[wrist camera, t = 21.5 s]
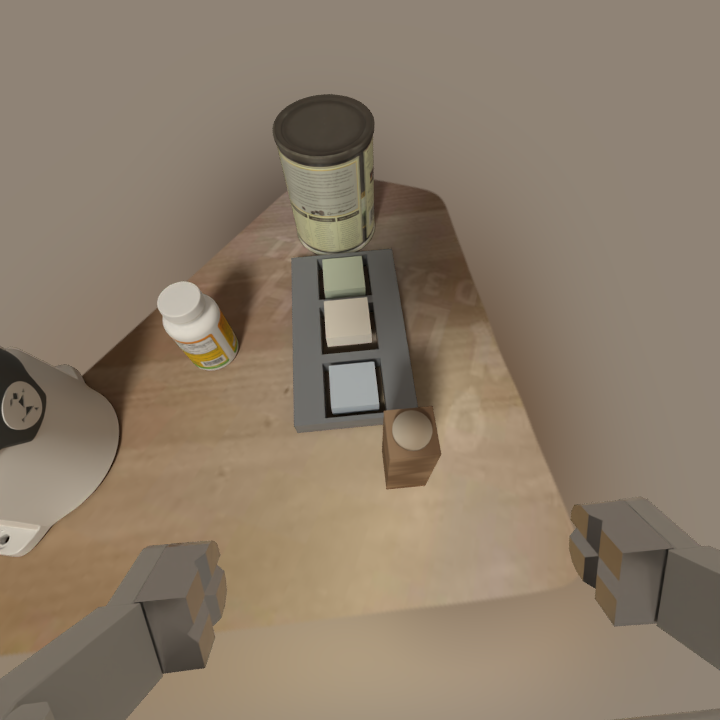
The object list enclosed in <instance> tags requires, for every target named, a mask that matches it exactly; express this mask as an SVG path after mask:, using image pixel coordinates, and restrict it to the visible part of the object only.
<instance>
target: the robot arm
mask: <svg viewBox="0 0 720 720" xmlns="http://www.w3.org/2000/svg"><path fill="white" fill-rule="evenodd" d="M118 440H119V424H118V419H117V416H116V413H115V411H114V409H113V407H112V405H111V404H110V402H109V401H108V400H107V399H106V398H105V397H104V396H103V395H101V394H100V393H98V392H96V391H95V390H93V389H91V388H90V387H88V386H87V385H86V384H85V382H84V380H83V378H82V376H81V374H80V373H79V372H78V370H77V369H75V368H73V367H71V366H69V365H59V366H55V367H54V366H52V365H50V364H48V363H46V362H44V361H42V360H40V359H38V358H37V357H35V356H33V355H31V354H29V353H27V352H25V351H23V350H21V349H18V348H15V347H8V348H7V349H4V348H3V347H1V346H0V555H5V556H13V557H19V556H23V555H25V554H27V553H28V552H29V551H31V550H32V549H33V548H34V547H35V546H36V544H37V543H38V542H39V541H40V540H41V539H42V537H43V536H44V535H45V534H46V532H47V531H48V530H49V528H50V527H51V526H52V525H53V524H55V523H56V522H57V521H58V520H60V519H61V518H63V517H64V516H65V515H67V514H68V513H70V512H71V511H73V510H74V509H75V508H77V507H78V506H79V505H80V504H81V503H83V502H84V501H85V500H86V499H87V498H88V497H89V496H90V495H91V494H92V493H93V492H94V490H95V489H96V488H97V487H98V486H99V484H100V483H101V482H102V480H103V479H104V477H105V475H106V474H107V472H108V470H109V468H110V466H111V464H112V462H113V459H114V457H115V454H116V450H117V446H118ZM571 521H572V522H573V524H574V525H575V526H576V529H575V530H574V531H573V533H572V534H571V535H570V536H569V551H570V555H571V559H572V563H573V565H574V567H575V569H576V571H577V573H578V574H579V576H580V577H581V579H582V580H583V581H584V582H585V583H587V584H588V585H590V586H592V587H593V588H595V589H596V591H595V600H596V601H597V602H598V604H599V605H600V607H601V608H602V610H603V611H604V612H605V614H606V615H607V617H608V618H609V620H610V621H611V623H612V624H613V625H614V626H626V625H641V624H655V623H657V626H658V627H659V628H661V629H662V630H663V631H665V632H666V633H668V634H669V635H671V636H672V637H673V638H675V639H676V640H677V641H679V642H680V643H682V644H683V645H685V646H686V647H687V648H689V649H690V650H692V651H693V652H694V653H696V654H697V655H699V656H700V657H701V658H703V659H704V660H706V661H707V662H709V663H710V664H711V665H713V666H714V667H716V668H717V669H719V670H720V550H718V549H716V548H713V547H711V546H701V545H699V544H698V543H697V542H696V541H695V540H694V539H693V538H691V537H690V536H689V535H688V534H687V533H686V532H684V531H683V530H682V529H681V528H680V527H679V526H678V525H676V524H675V523H674V522H673V521H672V520H671V519H670V518H668V517H667V516H666V515H665V514H664V513H663V512H662V511H660V510H659V509H658V508H657V507H656V506H655V505H653V504H652V503H651V502H650V501H649V500H648V499H645V498H643V497H635V498H627V499H619V500H615V501H605V502H596V503H586V504H577V505H574V506H573V508H572V511H571ZM8 537H9V541H8V542H7V543H6V539H7V538H8ZM219 557H220V552H219V548H218V544H217V543H216V542H215V541H200V542H187V543H174V544H165V545H153V546H148V547H146V548H144V549H143V550H142V551H141V553H140V554H139V556H138V557H137V559H136V561H135V562H134V564H133V565H132V567H131V568H130V570H129V571H128V573H127V574H126V576H125V578H124V579H123V581H122V582H121V584H120V585H119V587H118V588H117V590H116V592H115V593H114V595H113V596H112V598H111V599H110V601H109V602H108V604H107V605H106V606H105V607H98V608H97V609H95V610H94V611H93V612H91V613H90V614H89V615H87V616H86V617H84V618H83V619H82V620H80V621H79V622H78V623H76V624H75V625H73V626H72V627H71V628H69V629H68V630H67V631H65V632H64V633H62V634H61V635H60V636H58V637H57V638H56V639H54V640H53V641H51V642H50V643H49V644H47V645H46V646H45V647H43V648H42V649H40V650H39V651H38V652H36V653H35V654H34V655H32V656H31V657H30V658H28V659H27V660H25V661H24V662H23V663H21V664H20V665H19V666H17V667H16V668H14V669H13V670H12V671H10V672H9V673H8V674H6V675H5V676H3V677H2V678H1V679H0V720H126V718H127V717H128V716H129V715H130V714H131V713H132V712H133V711H134V709H135V708H136V707H137V706H138V705H139V704H140V702H141V701H142V700H143V699H144V698H145V697H146V695H147V694H148V693H149V692H150V691H151V690H152V688H153V687H154V686H155V685H156V684H157V682H158V681H159V680H160V679H161V678H162V677H163V675H162V674H164V673H171V672H179V671H186V670H193V669H202V668H205V667H206V664H207V661H208V658H209V654H210V652H211V649H212V645H213V642H214V639H215V634H214V630H213V626H214V625H215V624H216V623H217V622H218V621H219V620H220V619H221V618H222V614H223V611H224V608H225V602H226V594H227V586H226V577H225V573H224V570H222V569H221V568H220V567H219V566H218V565H217V563H218V560H219ZM614 720H720V709H711V710H701V711H692V712H682V713H672V714H663V715H652V716H643V717H634V718H625V719H614Z"/></svg>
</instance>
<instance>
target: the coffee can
mask: <svg viewBox="0 0 720 720" xmlns="http://www.w3.org/2000/svg"><path fill="white" fill-rule="evenodd" d="M373 133H374V117H373V115H372V113H371V112H370V110H369V109H368V108H367V107H366V106H365V105H364V104H362V103H361V102H359V101H357V100H355V99H352V98H349V97H346V96H340V95H330V94H328V95H316V96H311V97H307V98H304V99H301V100H298V101H296V102H294V103H292V104H290V105H289V106H287V107H286V108H285V109H284V110H282V111H281V112H280V113H279V115H278V116H277V118H276V119H275V121H274V124H273V136H274V140H275V142H276V145H277V148H278V152H279V156H280V160H281V165H282V169H283V173H284V177H285V181H286V185H287V189H288V193H289V198H290V202H291V206H292V211H293V214H294V219H295V223H296V227H297V234H298V238H299V240H300V241H301V243H302V244H303V245H304V246H305V247H306V248H307V249H308V250H310V251H311V252H313V253H316V254H318V255H330V254H341V253H351V252H356V251H358V250H360V249H362V248H363V247H364V246H365V245H366V244H367V243H368V242H369V241H370V240H371V238H372V236H373V233H374V230H375V222H374V178H373Z"/></svg>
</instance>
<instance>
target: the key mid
mask: <svg viewBox="0 0 720 720" xmlns="http://www.w3.org/2000/svg"><path fill="white" fill-rule="evenodd" d="M324 313H325V330H326V341H327V345H328V347H331V346H342V345H352V344H362V343H372V334H371V325H370V317H369V309H368V300H367V297H363V298H353V299H342V300H332V301H324Z"/></svg>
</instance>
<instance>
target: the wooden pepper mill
mask: <svg viewBox="0 0 720 720" xmlns="http://www.w3.org/2000/svg"><path fill="white" fill-rule="evenodd" d="M382 454H383V463H384V471H385V480H386V489H395V488H405V487H415V486H425V485H426V483H427V481H428V479H429V477H430V475H431V473H432V471H433V469H434V467H435V465H436V463H437V461H438V460H439V458H440V456H441V450H440V445H439V439H438V434H437V428H436V423H435V417H434V412H433V406H427V407H417V408H407V409H396V410H386V411H384V418H383V443H382Z"/></svg>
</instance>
